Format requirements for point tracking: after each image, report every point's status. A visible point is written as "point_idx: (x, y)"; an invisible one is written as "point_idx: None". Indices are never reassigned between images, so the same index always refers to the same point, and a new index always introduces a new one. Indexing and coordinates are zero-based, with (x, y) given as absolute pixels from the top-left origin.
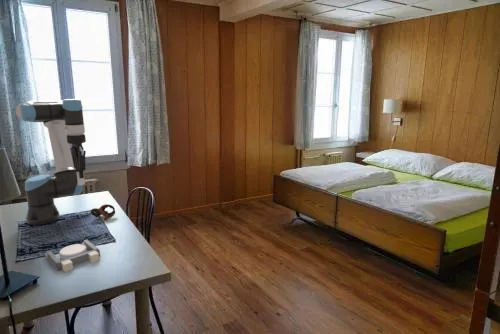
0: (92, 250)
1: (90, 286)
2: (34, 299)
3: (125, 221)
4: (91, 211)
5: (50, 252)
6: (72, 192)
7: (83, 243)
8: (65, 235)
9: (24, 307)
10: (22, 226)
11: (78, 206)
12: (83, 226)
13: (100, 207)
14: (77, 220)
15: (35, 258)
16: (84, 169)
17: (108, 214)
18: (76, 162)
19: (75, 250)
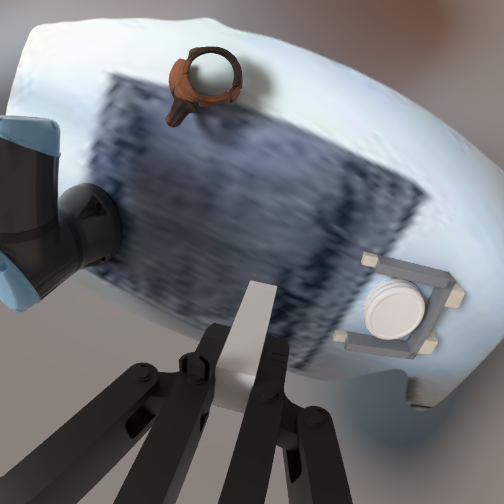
0: (444, 293)
1: (491, 337)
2: (437, 389)
3: (307, 58)
4: (175, 125)
5: (358, 347)
6: (56, 162)
7: (369, 265)
8: (248, 248)
9: (437, 398)
10: (106, 274)
11: (62, 113)
12: (222, 175)
13: (192, 95)
14: (157, 162)
15: (319, 348)
16: (328, 425)
17: (238, 84)
18: (183, 480)
19: (406, 315)
